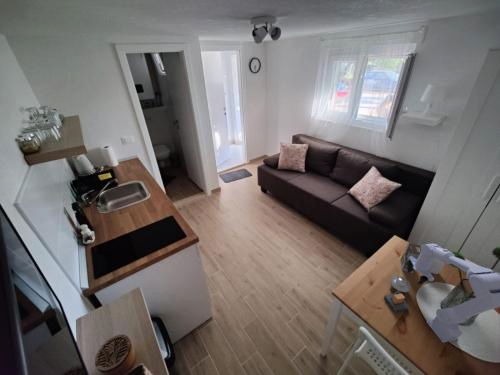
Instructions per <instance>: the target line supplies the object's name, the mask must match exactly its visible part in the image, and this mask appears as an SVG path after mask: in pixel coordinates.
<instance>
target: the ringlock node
mask: <svg viewBox="0 0 500 375" xmlns="http://www.w3.org/2000/svg"><path fill="white" fill-rule="evenodd" d="M389 283H390V285H391V286H392V288H393V289H394V290H395V293H390V294H389V293H388V294H385V295H384V297H383V299H384V300H385V301H386V303H387V305H388V306H389V307H390V309H391V310H392V311H393V313H397V312H402V311H407V310H409V309H410V306H409V304H408V302H406V300H404V301H403V302H402V304H398V305H394V304H393V302H392V301H391V300H392V298H393V296H394V295H397V294H403V293H404V294H406V293H409V292H410V290H411V289H412V287H411V284H410V282H409V280H407V279H406V278H405V277H404V276H400V275H392V276H391V277H390V278H389Z"/></svg>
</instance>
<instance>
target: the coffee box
mask: <svg viewBox="0 0 500 375" xmlns="http://www.w3.org/2000/svg"><path fill="white" fill-rule="evenodd" d="M421 246H422V245H419V244H415V243H412V242H408V243H407V245H406V247H405V249H404V251H403V253H402V255H401V257H400V266H401V270H402V271H403V272H406V273H410V274H414V273H415V271H416V270H414V269H413V270H412V271H411V272H408V271H407V270H408V266H407V263H406V262H407V261H409V260H408V257H409V256H412V257H414V258H415V259H418V257H419V255H420V253H421Z"/></svg>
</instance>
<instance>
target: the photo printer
mask: <svg viewBox="0 0 500 375" xmlns="http://www.w3.org/2000/svg"><path fill="white" fill-rule="evenodd" d="M445 265H446V263H444V262H442V261H440V260H438V259H436V258H435V259H434V260H433V262H432V264H431V265H430V267H429V268H428V270H429V271H430V273H431V274H434V275H439V273H440V272H441V270H442V269H443V268H444V266H445Z"/></svg>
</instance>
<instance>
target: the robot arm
mask: <svg viewBox="0 0 500 375" xmlns="http://www.w3.org/2000/svg"><path fill="white" fill-rule="evenodd" d="M420 246H421V253H420V255H419V257H418V259H415V258H414V257H412V256H409V257H408V260H409V261H407V262H406V263H407V266H408V270H407V271H408V272H407V273H410V272H411V271H412V270H413V269H414V270H415V271H417V272H419V273H420V274H422V275H421V276H419V277H420V278H419V281H418V282H417V284H418V285H423V284H424V283H425V282H433V281H434V280H435V278H434V277H433V275H432V273H431V272H430V271H429V270H428V268H429V267H430V265H431V264H432V262H433V260H434V259H435V258H436V259H438V260H440V261H442V262H444V263H445V265H450V264H451V265H453V266H455V267H457V268H459V269H460V270H462V271H464V272H466V280H468V283H469V285H470V287H471V289H472V292H473V294H474V296H475V297H474V298H472V299H470V300H467V301H465V302H464V301H463V303H460V304H457V305H456V306H453V307H448V308H436V311H435V313H436V314H435V315H436V316H435V317H434V318H433V319H430V320H429V319H428V320H426V323H427V325H428V326H429V327H430V328H431V330H432V331H433V332H434V334H435V335H436V337H438V338H439V340H440V341H441V342H442V343H443V344H444V343H448V341H449V342H453V341H457V340H458V339H459V337H461V336H462V334H463V331H462V330H461V329H460V327H459V325H461V324H466V323H467V322H468V320H469V319H471V317H474V316H476V315H479V314H482V313H484V312H488V311H490V310H494V309H497V308H500V272H495V271H494V270H493V269H491V268H488V267H484V266H481V265H478V264H475V263H472V262H469V261H467V260H465V259H462V258H460V257H457V256H456V254H454V253H453V252H451V251H449V249H447V248H442V247H441V246H440V245H438V244H437V243H426V244H422V245H420ZM457 338H458V339H457ZM456 339H457V340H456Z"/></svg>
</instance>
